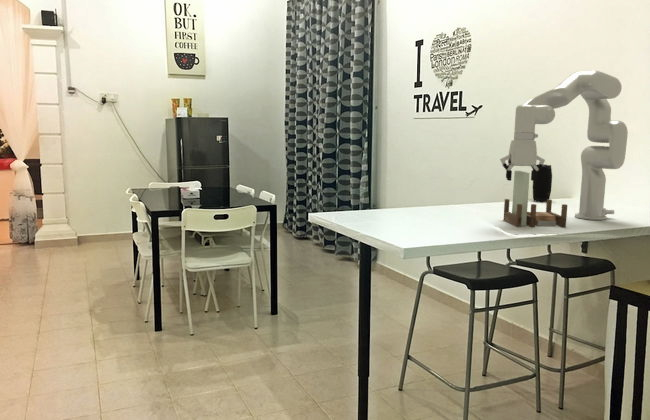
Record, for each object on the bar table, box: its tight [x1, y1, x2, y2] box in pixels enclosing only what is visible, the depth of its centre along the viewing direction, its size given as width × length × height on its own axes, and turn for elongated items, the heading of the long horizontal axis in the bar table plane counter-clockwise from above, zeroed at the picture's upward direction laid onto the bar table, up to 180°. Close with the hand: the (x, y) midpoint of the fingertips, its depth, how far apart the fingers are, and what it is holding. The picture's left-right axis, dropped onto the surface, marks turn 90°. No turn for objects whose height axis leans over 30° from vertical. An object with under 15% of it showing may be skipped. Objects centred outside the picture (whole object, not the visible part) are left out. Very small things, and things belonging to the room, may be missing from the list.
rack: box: [503, 198, 568, 228], centre depth 224 cm, size 19×16×10 cm
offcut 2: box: [535, 220, 557, 227], centre depth 224 cm, size 8×10×2 cm
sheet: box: [511, 170, 531, 227], centre depth 223 cm, size 2×11×22 cm, turn 1°
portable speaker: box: [532, 163, 553, 203], centre depth 298 cm, size 9×9×20 cm
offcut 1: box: [527, 211, 555, 221], centre depth 224 cm, size 8×10×2 cm
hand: (521, 180), depth 222 cm, fingers open, 9 cm apart
